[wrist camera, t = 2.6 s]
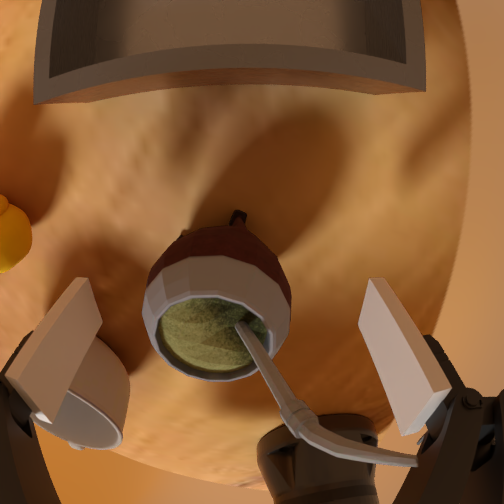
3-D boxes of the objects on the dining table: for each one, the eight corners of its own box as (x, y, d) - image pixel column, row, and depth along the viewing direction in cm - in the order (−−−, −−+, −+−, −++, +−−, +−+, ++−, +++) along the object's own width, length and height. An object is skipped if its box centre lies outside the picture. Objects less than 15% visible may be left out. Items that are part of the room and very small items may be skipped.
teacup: (43, 287, 20) (-8, 349, 13) (154, 343, 22) (129, 424, 15) (45, 373, 25) (18, 424, 18) (127, 413, 27) (111, 471, 20)
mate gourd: (161, 282, 19) (82, 497, 6) (191, 171, 16) (21, 398, 3) (262, 313, 21) (276, 532, 7) (310, 213, 17) (429, 461, 4)
